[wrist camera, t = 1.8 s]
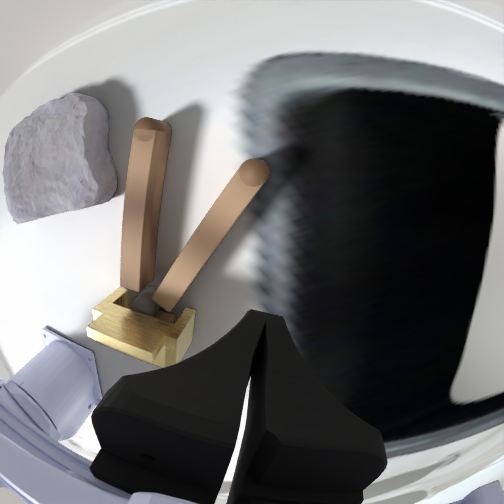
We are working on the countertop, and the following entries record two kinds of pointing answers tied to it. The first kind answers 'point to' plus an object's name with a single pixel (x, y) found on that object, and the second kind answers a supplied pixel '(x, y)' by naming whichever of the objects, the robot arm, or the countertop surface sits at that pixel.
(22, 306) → the countertop surface
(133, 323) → the yellow block
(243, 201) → the tong arm
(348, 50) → the countertop surface
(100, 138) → the stone block
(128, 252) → the tongs fixed
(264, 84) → the countertop surface
